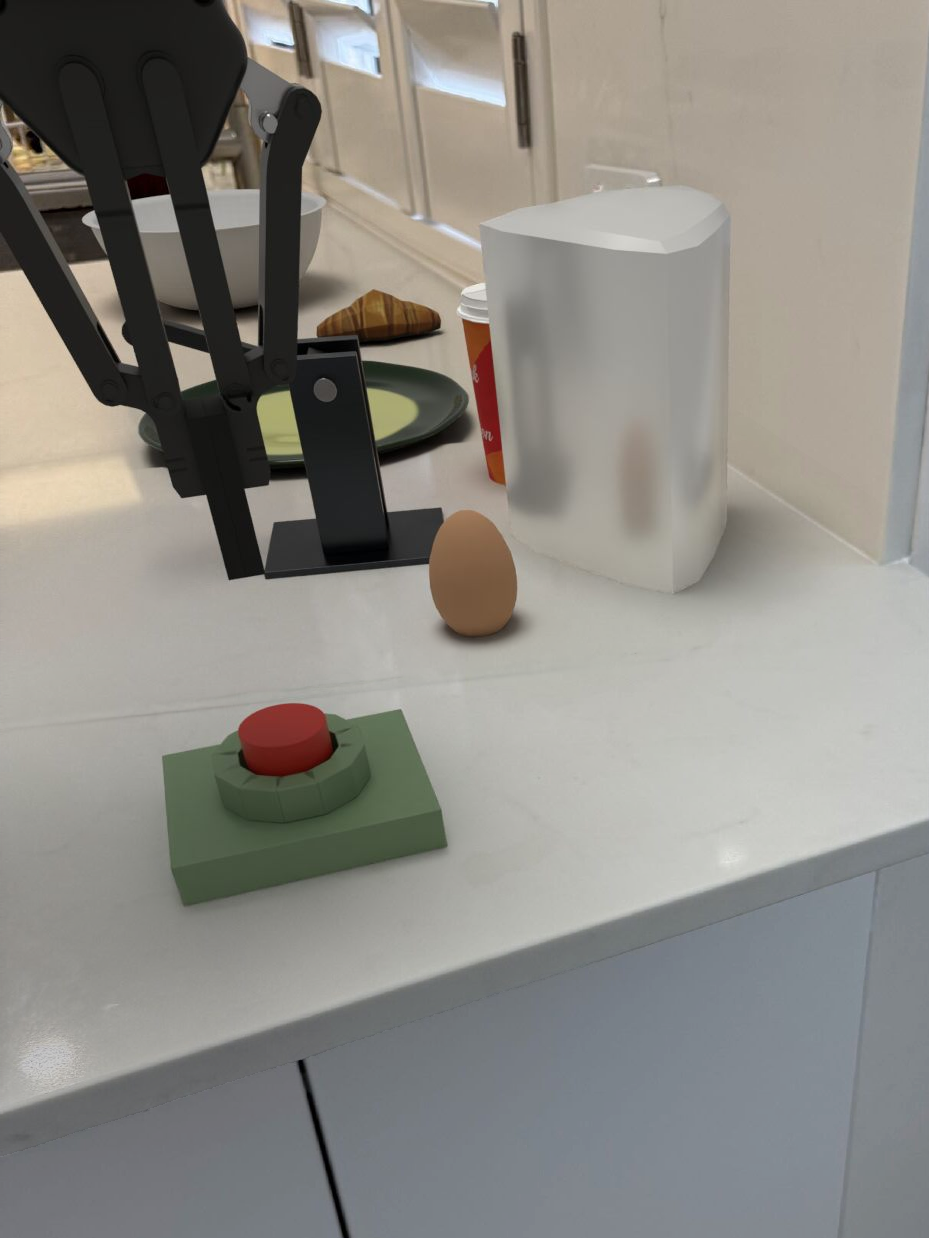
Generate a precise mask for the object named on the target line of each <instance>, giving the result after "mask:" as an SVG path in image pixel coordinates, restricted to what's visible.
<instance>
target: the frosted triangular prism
mask: <svg viewBox="0 0 929 1238" xmlns="http://www.w3.org/2000/svg"><path fill="white" fill-rule="evenodd" d="M478 227H479V238H480V247H481V256H482V266H483V276H484V283H485V287H486V296H487V306H488V316H489V325H490V335H491V345H492V354H493V364H494V374H495V383H496V393H497V403H498V413H499V422H500V432H501V442H502V451H503V461H504V471H505V480H506V485H505V489H506V499H507V508H508V509H507V510H508V517H509V518H508V519H509V527H510V536H511V537H512V538H513V539H515V540H516V541H518V542H519V543H520V544H522V545H523V546H525V547H527V548H528V549H529V550H530V551H532V552H535V553H538V554H541V555H543V556H546V557H548V558H551V559H554V560H557V561H560V562H562V563H564V564H567V565H570V566H573V567H576V568H579V569H581V570H584V571H587V572H590V573H592V574H595V575H598V576H601V577H603V578H606V579H608V580H612V581H614V582H618V583H620V584H622V585H626V586H628V587H632V588H638V589H643V590H648V591H652V592H653V591H654V592H657V593H658V592H660V593H665V594H670V595H675V594H677V593H678V592H680V591H683V590H684V589H686V588H688V587H690V586H692V585H695V584H696V583H698V582H700V581H701V579H702V577H703V575H704V574H705V572H706V571H707V569H708V567H709V565H710V563H711V562H712V560H713V558H714V557H715V554H716V552H717V550H718V547H719V545H720V542H721V541H722V540H721V539H722V538H723V535H724V533H725V531H726V528H727V526H728V459H729V458H728V454H729V453H728V452H729V451H728V449H729V448H728V447H729V436H728V435H729V376H730V375H729V374H730V373H729V370H730V369H729V368H730V367H729V364H730V362H729V361H730V291H731V290H730V285H731V284H730V283H731V282H730V281H731V279H730V277H731V276H730V275H731V271H730V270H731V266H730V265H731V213H730V211H729V210H728V209H727V207H726V205H725V204H724V203H723V202H722V201H721V200H719V199H718V198H716V197H715V196H714V195H713V194H711V193H709V192H706V191H703V190H700V189H697V188H694V187H691V186H688V185H684V184H679V185H664V186H663V185H662V186H661V185H660V186H647V187H645V186H644V187H635V188H634V187H633V188H625V189H624V188H621V189H609V190H600V191H595V192H591V193H588V194H587V193H586V194H583V195H579V196H575V197H571V198H567V199H563V200H559V201H555V202H550V203H544V204H543V203H542V204H538V205H532V206H531V205H530V206H525V207H519V208H516V209H513V210H512V211H509V212H506V213H504V214H501V215H499V216H496V217H494V218H490V219H488V220H485V221H482V222H479V224H478Z"/></svg>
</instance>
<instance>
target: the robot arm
mask: <svg viewBox="0 0 929 1238" xmlns="http://www.w3.org/2000/svg"><path fill="white" fill-rule="evenodd" d="M225 6H226V5H224V1H223V0H0V234H1V235H2V237H3V239H4V241H5V243H6V245H7V246H8V248H9V249H10V252H11V253H12V254H13V256H14V258H15V260H16V262H17V263H18V265H19V266H20V269H21V270H22V273H23V274H24V276H25V278H26V279H27V281H28V283H29V285H30V286H31V288H32V290H33V291H34V294H35V295H36V297H37V299H38V300H39V302H40V304H41V306H42V307H43V309H44V311H45V312H46V314H47V316H48V317H49V319H50V321H51V323H52V325H53V326H54V328H55V330H56V331H57V334H58V335H59V337H60V339H61V341H62V343H63V344H64V346H65V348H66V349H67V351H68V353H69V355H70V356H71V359H72V360H73V361H74V362H75V365H76V367H77V368H78V370H79V372H80V374H81V375H82V377H83V379H84V381H85V382H86V384H87V386H88V388H89V390H90V391H91V393H92V394H93V396H94V397H95V399H96V400H97V401H98V402H99V403H100V404H102V405H104V406H106V407H111V408H113V407H114V408H115V407H119V406H123V407H127V408H131V409H136V410H139V411H142V413H144V414H145V413H147V414H148V415H149V416H150V417H151V419H152V420H153V421H154V424H155V426H156V429H157V433H158V436H159V440H160V443H161V447H162V450H163V451H162V453H163V457H164V461H165V464H166V468H167V472H168V475H169V479H170V482H171V486H172V488H173V489H174V491H175V492H176V494H178V495H179V498H181V499H188V498H195V497H201V496H205V497H206V500H207V504H208V508H209V510H210V515H211V518H212V522H213V526H214V530H215V535H216V538H217V541H218V545H219V549H220V553H221V557H222V560H223V565H224V568H225V571H226V575H227V576H226V577H227V579H228V581H233V580H239V579H246V578H252V577H258V576H264V574H265V571H264V570H265V565H264V561H263V559H262V555H261V551H260V546H259V543H258V542H259V541H258V538H257V534H256V529H255V526H254V522H253V518H252V514H251V510H250V506H249V502H248V498H247V497H248V496H247V492H246V489H254V488H260V487H267V486H270V479H271V473H272V470H271V469H270V466H269V462H268V458H267V453H266V449H265V445H264V440H263V436H262V432H261V427H260V423H259V419H258V414H257V403H258V401H259V398H260V397H261V396H262V394H264V393H265V392H267V391H268V390H270V389H272V388H274V387H276V386H278V385H286V384H288V383H290V382H292V380H293V379H294V378H295V376H296V371H297V339H299V337H298V335H299V332H298V331H299V303H300V302H299V299H300V298H299V297H300V280H299V267H300V231H301V195H302V192H303V191H302V189H303V188H302V187H303V167H304V164H305V161H306V159H307V156H308V154H309V150H310V148H311V147H312V146H311V145H312V143H313V140H314V138H315V135H316V134H317V133H316V132H317V130H318V127H319V124H320V122H321V119H322V113H323V110H322V103H321V102H320V100H319V98H318V96H317V95H316V94H315V93H314V92H313V91H312V90H310V89H309V88H307V87H305V86H304V85H302V84H300V83H296V82H289V81H287V80H286V79H284V78H283V77H281V76H279V74H276V73H275V72H273V71H272V70H269V69H268V68H266V67H265V66H264V65H262V64H260V63H259V62H257V61H256V60H254V59H252V58H251V57H249V56H248V55H249V54H248V47H247V45H246V42H245V38H244V36H243V34H242V32H241V30H240V29H239V27H238V26H237V24H236V23H235V22H234V20H233V19H232V18H231V16H230V14H229V13H228V10H227V9H226V7H225ZM239 90H241V91H242V92H243V93H244V96H245V98H246V100H247V103H248V111H247V113H248V114H247V119H248V120H247V121H248V125H249V127H250V129H251V131H252V132H253V133H254V134H255V136H256V137H258V138H259V139H260V140H261V141H262V144H261V152H260V159H259V189H260V198H259V289H258V305H257V306H258V307H257V311H258V312H257V346H258V347H256V348H254V349H253V350H251V351H249V352H247V353H245V354H244V352H243V347H242V343H241V341H242V339H241V335H240V329H239V325H238V322H237V317H236V313H235V309H233V304H232V300H231V296H230V291H229V287H228V283H227V278H226V274H225V270H224V265H223V261H222V257H221V253H220V248H219V244H218V240H217V235H216V231H215V227H214V222H213V218H212V214H211V209H210V204H209V199H208V195H207V191H208V190H207V188H206V181H205V177H204V173H203V169H202V168H204V167H205V166H206V165H207V164H208V162H210V161H211V159H212V157H213V156H214V153H215V150H216V147H217V145H218V143H219V140H220V137H221V135H222V133H223V130H224V127H225V126H226V123H227V121H228V118H229V115H230V112H231V111H232V108H233V105H234V103H235V100H236V97H237V95H238V93H239ZM3 104H4V105H5V106H6V107H7V108H8V109H9V110H10V111H11V112H12V113H13V114H14V115H15V116H16V117H17V118H18V119H19V120H20V121H21V122H22V123H23V125H25V126H26V127H27V128H28V129H29V130H30V131H31V132H32V133H33V134H34V135H35V136H36V137H37V138H38V139H39V140H40V141H41V142H42V143H43V144H44V145H45V146H46V147H47V148H48V149H49V150H50V151H51V152H52V153H53V154H54V155H55V156H56V157H57V158H58V159H59V160H60V161H61V162H62V163H63V164H64V165H65V166H67V168H69V169H70V170H72V171H73V172H75V173H76V174H78V175H79V176H81V177H83V178H84V179H85V184H86V186H87V190H88V194H89V197H90V201H91V204H92V208H93V211H95V214H96V217H97V220H98V224H99V227H100V231H101V235H102V238H103V242H104V245H105V249H106V252H107V254H106V256H107V259H108V263H109V267H110V271H111V274H112V277H113V280H114V285H115V288H116V291H117V295H118V299H119V302H120V306H121V309H122V313H123V317H124V320H125V321H126V324H127V328H128V331H129V335H130V338H131V342H132V345H131V347H132V349H133V353H134V356H135V360H136V364H137V365H133V364H128V363H124V362H122V360H121V359H120V357H119V355H118V353H117V351H116V350H115V347H114V346H113V344H112V342H111V340H110V338H109V337H108V335H107V333H106V331H105V329H104V328H103V325H102V324H101V322H100V320H99V318H98V317H97V315H96V313H95V311H94V309H93V307H92V306H91V303H90V302H89V300H88V298H87V296H86V294H85V293H84V291H83V289H82V287H81V286H80V283H79V282H78V280H77V278H76V276H75V274H74V273H73V271H72V269H71V267H70V265H69V264H68V262H67V259H66V258H65V256H64V255H63V253H62V251H61V249H60V247H59V245H58V244H57V242H56V240H55V238H54V236H53V234H52V233H51V231H50V229H49V227H48V225H47V224H46V222H45V220H44V218H43V216H42V214H41V212H40V211H39V208H38V207H37V205H36V203H35V201H34V199H33V197H32V196H31V194H30V192H29V190H28V188H27V186H26V185H25V184H24V182H23V180H22V178H21V177H20V175H19V174H18V172H17V170H16V169H15V168H14V166H12V164H11V163H10V161H9V160H8V159H9V157H10V156H11V154H12V152H13V149H14V140H13V137H12V136H13V135H12V134H11V132H10V131H9V129H8V128H7V126H6V124H5V122H4V120H3V117H2V108H3ZM145 174H146V175H152V176H156V177H161V178H165V180H166V181H165V182H166V184H167V187H168V189H167V190H168V193H169V195H170V197H171V200H172V204H173V208H174V212H175V216H176V220H177V225H178V229H179V233H180V237H181V241H182V245H183V249H184V253H185V257H186V261H187V265H188V269H189V273H190V277H191V281H192V285H193V289H194V293H195V297H196V301H197V305H198V309H199V310H198V313H199V316H200V320H201V324H202V330H204V333H205V337H206V341H207V345H208V349H209V353H210V354H209V353H208V354H209V357H210V361H211V365H212V369H213V373H214V378H215V380H216V381H217V385H218V389H219V393H220V395H217V396H209V397H201V398H193V399H185V400H183V397H182V393H181V391H182V389H181V387H180V381H179V377H178V374H177V373H178V372H177V370H176V366H175V362H174V358H173V354H172V351H171V347H170V342H168V339H167V335H166V331H165V327H164V324H163V320H162V318H163V315H162V316H161V313H162V311H161V312H160V310H161V309H160V304H159V301H158V300H157V297H156V293H155V289H154V285H153V282H152V278H151V274H150V270H149V266H148V262H147V259H146V255H145V251H144V247H143V243H142V240H141V236H140V232H139V228H138V224H137V220H136V217H135V213H134V209H133V205H132V201H131V200H132V197H131V192H130V188H129V185H128V180H131V179H133V178H136V177H138V176H141V175H145ZM125 321H124V322H125Z"/></svg>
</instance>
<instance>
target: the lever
mask: <svg viewBox="0 0 929 1238" xmlns="http://www.w3.org/2000/svg"><path fill="white" fill-rule="evenodd" d="M160 312H161V316H162V320H163V324H164V327H165V331H166V335H167V339H168V343H171V344H175V345H178V346H182V347H185V348H188V349H189V348H190V349H192V350H195V351H199V352H203V353H206V354H209V355H210V353H209V349H208V345H207V341H206V337H205V333H204V329H201V328H197V327H194V326H190V325H187V324H183V323H180V322H178V321H177V322H176V321H174V320H171V319H166V318H164V317H163V314H162V310H161V309H160ZM121 335H122V337H123V339H124V341H125V342H126V343H127V344H128V345H130V346H132V342H131V338H130V335H129V331H128V328H127V324H126V321H124V322H123V324H122V326H121ZM241 343H242V347H243V352H244V354H245V353H247V352H249V351H251V350H253V349H254V348H256V347H258V345H255V344H252V343H248V342H245V341H242V340H241ZM324 353H327V352H324V351H320V350H317V349H314V348H310V347H309V348H308V352H307V355H310V354H324Z"/></svg>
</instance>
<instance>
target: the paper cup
mask: <svg viewBox="0 0 929 1238" xmlns="http://www.w3.org/2000/svg"><path fill="white" fill-rule="evenodd" d="M456 315H457V317H458V318H461V323H462V327H463V333H464V339H465V345H466V351H467V357H468V362H469V369H470V375H471V382H472V386H473V393H474V399H475V406H476V410H477V416H478V421H479V428H480V433H481V434H480V435H481V440H482V445H483V451H484V456H485V462H486V466H487V467H486V468H487V473H488V477H489V479H490V480H491V481H492V482H494V483H497V484H500V485H503V486H506V480H505V471H504V461H503V451H502V442H501V432H500V422H499V413H498V403H497V393H496V383H495V374H494V364H493V354H492V345H491V335H490V325H489V316H488V306H487V296H486V287H485V282H479V283H477V284H472V285H470V286H467V287H465V288H463V290H462V291H461V293H460V304H459V306H458V307H457V309H456Z"/></svg>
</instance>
